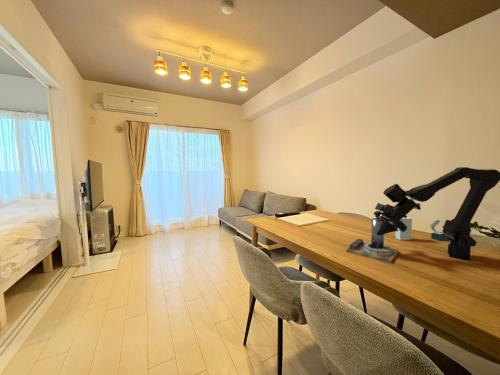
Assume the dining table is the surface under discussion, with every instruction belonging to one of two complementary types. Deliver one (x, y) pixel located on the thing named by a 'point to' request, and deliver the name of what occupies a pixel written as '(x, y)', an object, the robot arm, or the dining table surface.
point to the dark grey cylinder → (375, 239)
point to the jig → (372, 251)
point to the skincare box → (408, 232)
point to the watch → (436, 234)
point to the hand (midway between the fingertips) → (374, 233)
